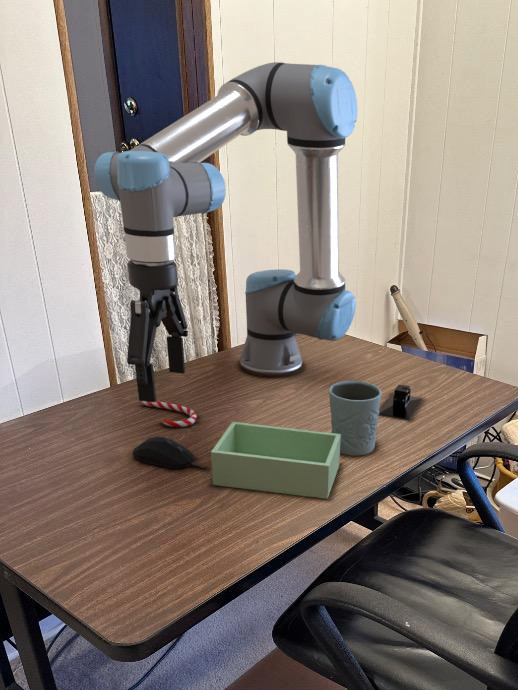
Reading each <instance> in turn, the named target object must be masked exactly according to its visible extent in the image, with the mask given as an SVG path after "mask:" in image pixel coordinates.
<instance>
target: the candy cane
mask: <svg viewBox="0 0 518 690" xmlns="http://www.w3.org/2000/svg"><path fill="white" fill-rule="evenodd" d="M141 404H142V405H141V406H145V407H151V408H159V409H165V410H169V411H174V412H178V413H183V414H185V415H188V417H189V418H187V419H183V420H178V421H177V420H175V421H174V420H169V419H167V418H164V419H163V420H162V424H163V425H165V426H166V427H171V428H185V427H189V426H191V425H193V424H195V422H196V421H197V419H198V416H197V413H196V412H195V411H194V410H193V409H191V408H189V407H186V406H183V405H179V404H174V403H170V402H163V401H156V402H146V401H141Z"/></svg>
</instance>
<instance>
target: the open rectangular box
mask: <svg viewBox="0 0 518 690" xmlns="http://www.w3.org/2000/svg"><path fill="white" fill-rule="evenodd" d="M340 439H341V434H334V433H331V432H325V431H316V430H307V429H300V428H299V429H298V428H292V427H291V428H290V427H281V426H273V425H272V426H271V425H264V424H257V423H249V422H248V423H246V422H245V423H244V422H239V421H231V423H230V424H229V426H228V427H227V429H226V430H225V431H224V433H223V434H222V435H221V437H220V439H219V440H218V441H217V443H216V444H215V446H214V447H213V448H212V450H211V451H210V459H211V461H210V462H211V476H212V486H219V487H228V488H236V489H244V490H252V491H261V492H267V493H268V492H269V493H276V494H285V495H291V496H292V495H293V496H300V497H307V498H308V497H309V498H317V499H325V500H328V499H329V496H330V493H331V490H332V488H333V485H334V482H335V479H336V476H337V473H338V470H339V467H340V457H341V453H340Z"/></svg>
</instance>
